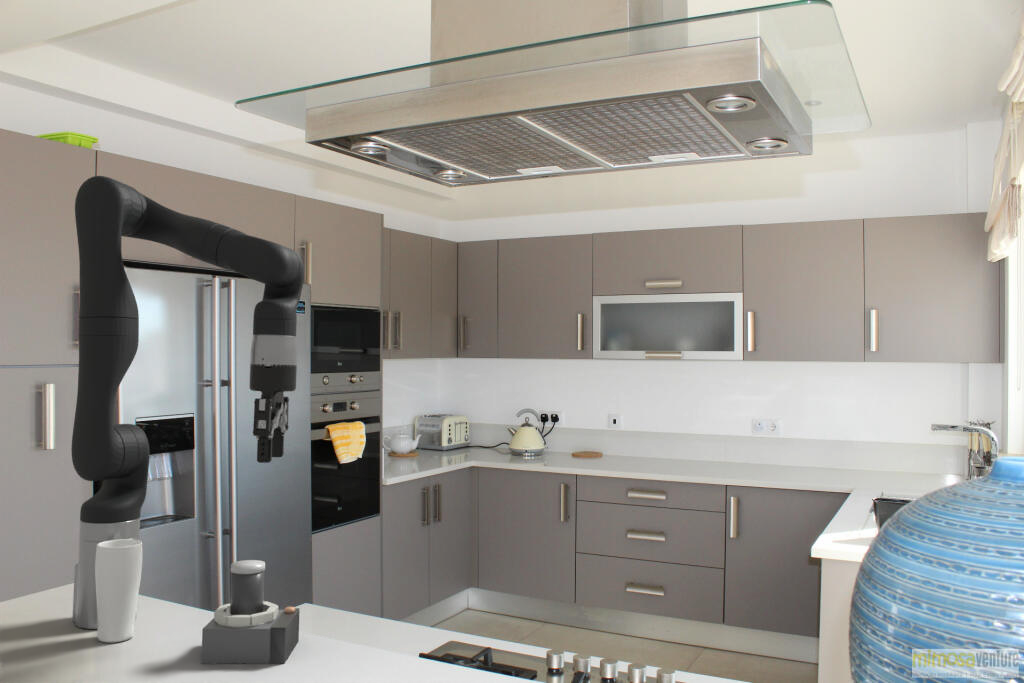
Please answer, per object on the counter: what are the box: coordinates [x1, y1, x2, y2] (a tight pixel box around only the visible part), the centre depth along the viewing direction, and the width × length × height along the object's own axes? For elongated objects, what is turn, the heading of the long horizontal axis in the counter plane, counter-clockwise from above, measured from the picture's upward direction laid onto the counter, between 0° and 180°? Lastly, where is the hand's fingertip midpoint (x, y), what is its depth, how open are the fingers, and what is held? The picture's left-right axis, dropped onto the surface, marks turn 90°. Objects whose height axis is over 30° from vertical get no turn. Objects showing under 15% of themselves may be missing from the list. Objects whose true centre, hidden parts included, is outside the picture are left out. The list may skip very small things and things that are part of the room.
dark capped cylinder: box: [229, 559, 266, 615], centre depth 124 cm, size 5×5×8 cm
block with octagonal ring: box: [200, 600, 301, 665], centre depth 124 cm, size 12×10×6 cm
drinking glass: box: [95, 539, 144, 644], centre depth 129 cm, size 7×7×15 cm
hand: (270, 459), depth 136 cm, fingers open, 8 cm apart
